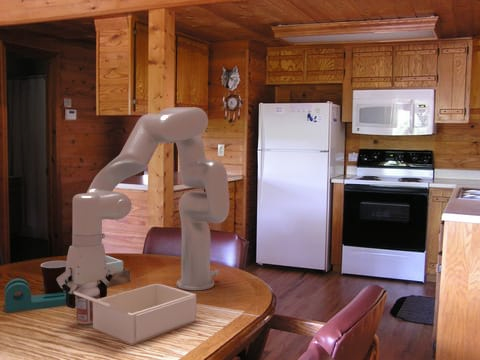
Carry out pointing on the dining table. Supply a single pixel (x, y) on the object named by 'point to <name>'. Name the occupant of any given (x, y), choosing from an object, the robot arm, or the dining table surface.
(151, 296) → the carton
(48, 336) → the dining table surface
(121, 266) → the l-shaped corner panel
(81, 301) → the pill bottle
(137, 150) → the robot arm
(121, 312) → the end flap
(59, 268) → the coffee mug
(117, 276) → the open square frame
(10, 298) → the bracket
